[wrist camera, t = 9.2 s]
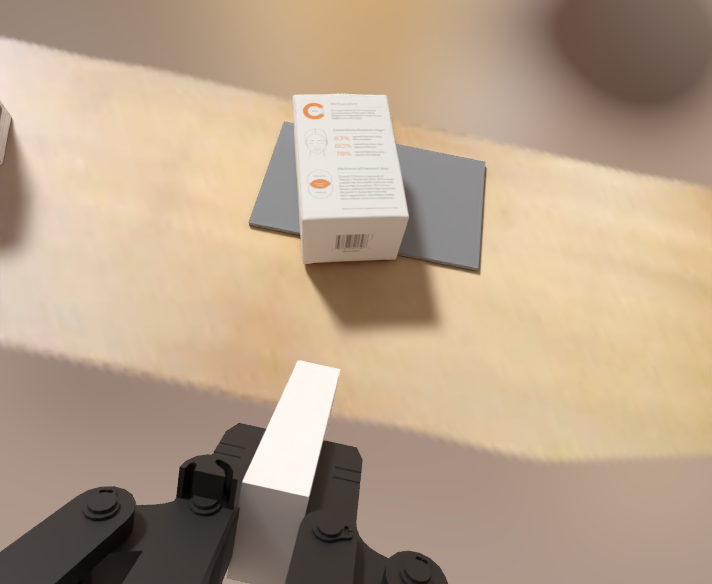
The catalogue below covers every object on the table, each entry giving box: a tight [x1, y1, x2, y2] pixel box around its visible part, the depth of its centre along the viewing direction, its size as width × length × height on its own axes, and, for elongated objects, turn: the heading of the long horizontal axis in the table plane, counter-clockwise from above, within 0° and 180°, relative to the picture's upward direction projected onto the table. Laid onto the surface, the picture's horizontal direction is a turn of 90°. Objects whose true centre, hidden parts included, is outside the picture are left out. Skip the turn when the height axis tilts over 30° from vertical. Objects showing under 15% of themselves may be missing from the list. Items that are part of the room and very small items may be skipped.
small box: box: [293, 94, 409, 264], centre depth 41 cm, size 8×6×13 cm
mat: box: [249, 122, 485, 271], centre depth 45 cm, size 20×12×1 cm, turn 80°
